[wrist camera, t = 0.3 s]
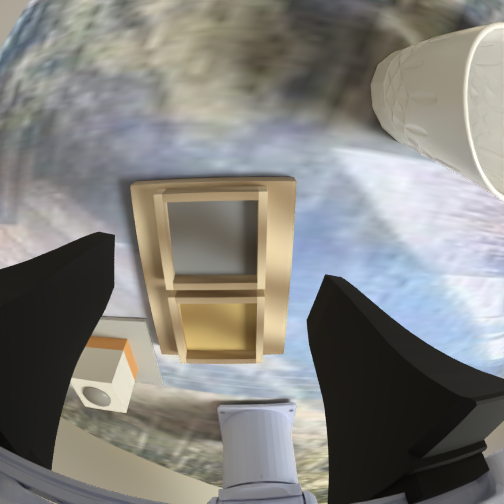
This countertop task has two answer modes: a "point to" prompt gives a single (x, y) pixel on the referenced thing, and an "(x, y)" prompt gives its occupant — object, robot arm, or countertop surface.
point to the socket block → (217, 264)
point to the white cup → (449, 102)
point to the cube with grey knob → (105, 374)
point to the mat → (133, 344)
